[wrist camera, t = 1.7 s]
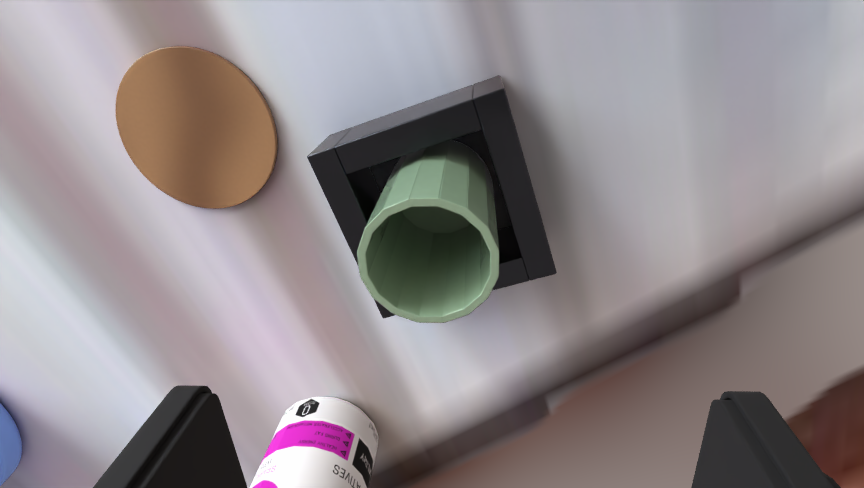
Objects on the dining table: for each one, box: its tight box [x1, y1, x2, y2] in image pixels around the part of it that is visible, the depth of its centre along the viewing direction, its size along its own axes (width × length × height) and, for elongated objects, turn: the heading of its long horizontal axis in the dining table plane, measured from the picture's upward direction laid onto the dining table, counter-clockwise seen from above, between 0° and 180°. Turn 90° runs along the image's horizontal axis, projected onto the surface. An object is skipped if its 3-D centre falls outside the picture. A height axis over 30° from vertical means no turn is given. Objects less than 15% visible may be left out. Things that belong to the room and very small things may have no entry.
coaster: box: [116, 46, 278, 209], centre depth 31 cm, size 10×10×1 cm
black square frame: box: [307, 75, 557, 318], centre depth 29 cm, size 11×11×5 cm
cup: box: [357, 140, 499, 323], centre depth 27 cm, size 6×6×10 cm
